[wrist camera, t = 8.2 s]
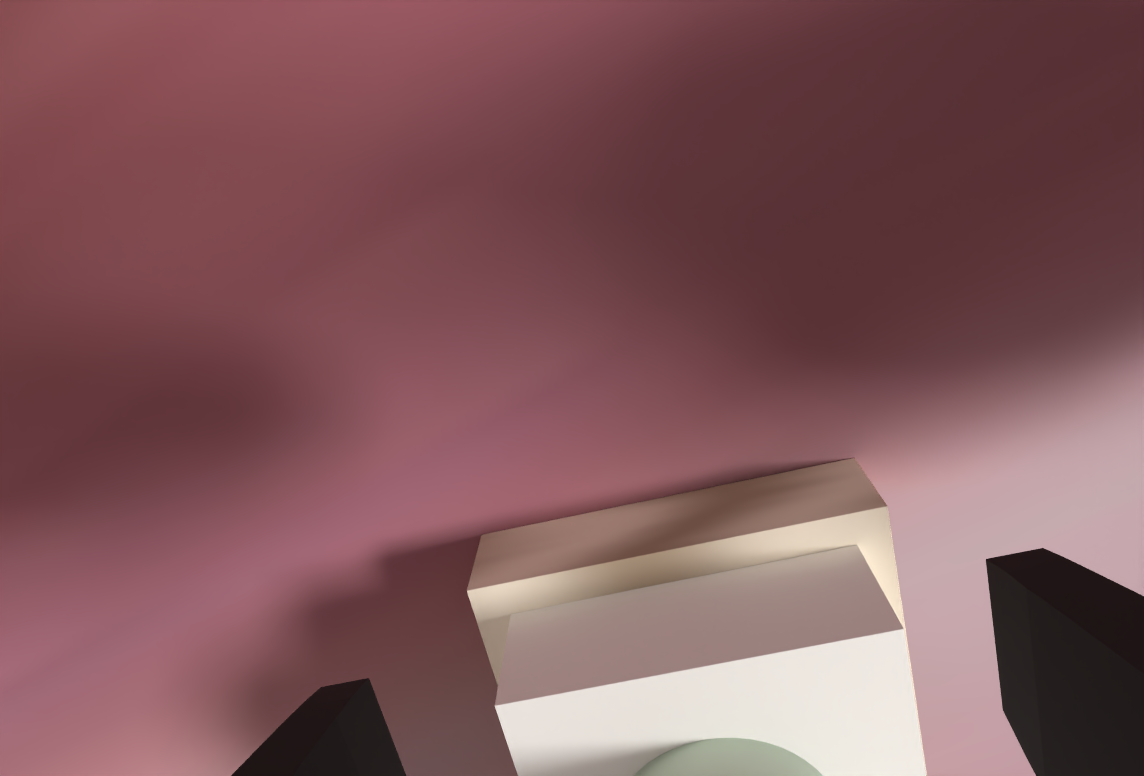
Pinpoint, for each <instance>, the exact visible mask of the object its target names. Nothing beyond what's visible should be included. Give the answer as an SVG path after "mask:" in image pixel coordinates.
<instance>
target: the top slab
mask: <svg viewBox="0 0 1144 776" xmlns="http://www.w3.org/2000/svg"><path fill="white" fill-rule="evenodd" d="M495 708H496V711H497V714H498V717H499V720H500V723H501V726H502V729H503V732H504V735H505V738H506V741H507V744H508V747H509V750H510V753H511V756H512V759H513V762H514V765H515V768H516V771H517V774H518V776H634V775H635V774H636V773H637V772H638V771H639V770H640V769H641V768H642V767H644V766H645V765H646V764H647V763H648V762H650V761H652V760H653V759H655V758H656V757H658V756H659V755H661V754H663V753H665V752H667V751H670V750H672V749H674V748H676V747H679V746H682V745H685V744H688V743H692V742H696V741H701V740H706V739H715V738H744V739H753V740H757V741H762V742H767V743H770V744H773V745H776V746H779V747H782V748H784V749H786V750H788V751H790V752H792V753H794V754H796V755H798V756H799V757H801V758H802V759H804V760H806V761H807V762H808V763H810V764H811V765H812V766H813V767H814V768H816V769H817V770H818V771H819V772H820V773H821V774H822V776H926V770H925V763H924V757H923V750H922V744H921V737H920V731H919V724H918V718H917V711H916V705H915V698H914V691H913V685H912V678H911V672H910V665H909V659H908V652H907V646H906V639H905V633H904V628H903V626H902V625H901V623H900V621H899V619H898V617H897V616H896V614H895V612H894V610H893V608H892V607H891V605H890V603H889V601H888V599H887V598H886V596H885V594H884V592H883V590H882V589H881V587H880V585H879V583H878V581H877V580H876V578H875V576H874V574H873V572H872V571H871V569H870V567H869V565H868V563H867V562H866V560H865V558H864V556H863V554H862V553H861V551H860V549H859V547H858V545H854V546H849V547H844V548H839V549H834V550H829V551H824V552H819V553H814V554H809V555H804V556H799V557H794V558H789V559H784V560H779V561H774V562H769V563H764V564H759V565H754V566H749V567H744V568H739V569H734V570H729V571H724V572H719V573H714V574H709V575H704V576H699V577H694V578H689V579H684V580H679V581H674V582H669V583H664V584H659V585H654V586H649V587H644V588H639V589H634V590H629V591H624V592H619V593H614V594H609V595H604V596H599V597H594V598H589V599H584V600H579V601H574V602H569V603H564V604H559V605H554V606H549V607H544V608H539V609H534V610H529V611H524V612H519V613H514V614H511V616H510V621H509V627H508V633H507V639H506V644H505V650H504V656H503V661H502V667H501V673H500V678H499V684H498V690H497V695H496V701H495Z"/></svg>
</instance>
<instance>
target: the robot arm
mask: <svg viewBox="0 0 1144 776" xmlns="http://www.w3.org/2000/svg"><path fill="white" fill-rule="evenodd" d="M986 565H987V574H988V583H989V591H990V600H991V609H992V618H993V627H994V635H995V644H996V653H997V662H998V671H999V680H1000V688H1001V697H1002V706H1003V711H1004V713H1005V715H1006V717H1007V719H1008V721H1009V723H1010V725H1011V727H1012V729H1013V731H1014V733H1015V735H1016V737H1017V739H1018V741H1019V743H1020V745H1021V747H1022V749H1023V751H1024V753H1025V755H1026V757H1027V759H1028V761H1029V763H1030V765H1031V767H1032V769H1033V771H1034V772H1035V774H1036V776H1144V596H1142V595H1140V594H1138V593H1136V592H1134V591H1132V590H1130V589H1128V588H1126V587H1124V586H1122V585H1120V584H1118V583H1116V582H1114V581H1112V580H1110V579H1107V578H1105V577H1103V576H1101V575H1099V574H1097V573H1095V572H1093V571H1091V570H1089V569H1087V568H1085V567H1083V566H1081V565H1079V564H1077V563H1075V562H1073V561H1071V560H1068V559H1066V558H1064V557H1062V556H1060V555H1058V554H1055V553H1053V552H1051V551H1049V550H1046V549H1044V548H1041V549H1036V550H1031V551H1025V552H1020V553H1015V554H1010V555H1005V556H999V557H994V558H989V559H986ZM231 776H406V774H405V772H404V769H403V766H402V764H401V761H400V758H399V756H398V753H397V751H396V748H395V745H394V743H393V740H392V738H391V735H390V732H389V730H388V727H387V724H386V722H385V719H384V717H383V714H382V711H381V709H380V706H379V704H378V701H377V698H376V696H375V693H374V690H373V688H372V685H371V683H370V680H369V678H367V679H362V680H356V681H351V682H346V683H341V684H336V685H330V686H325V687H321V688H320V689H319V690H317V691H316V692H315V693H314V694H313V695H312V696H311V697H309V698H308V699H307V700H306V701H305V702H304V703H303V704H302V705H301V706H300V707H299V708H298V709H297V710H296V711H295V712H294V713H293V714H292V715H290V716H289V717H288V718H287V719H286V720H285V721H284V722H283V723H282V724H281V725H280V726H279V727H278V728H277V729H276V730H275V732H274V733H273V734H272V735H271V736H270V737H269V738H268V739H267V740H266V741H265V742H264V743H263V744H262V745H261V746H260V747H259V748H258V749H257V750H256V751H255V752H254V753H253V754H252V755H251V756H250V757H249V758H248V759H247V760H246V761H245V762H244V763H243V764H242V765H241V766H240V767H239V768H238V769H237V770H236V771H235V772H234V773H233V774H232V775H231Z"/></svg>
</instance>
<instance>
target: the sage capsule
mask: <svg viewBox="0 0 1144 776" xmlns="http://www.w3.org/2000/svg"><path fill="white" fill-rule="evenodd" d="M634 776H822V774H821V773H820V772H819V771H818V770H817V769H816V768H814V767H813V766H812V765H811V764H810V763H808V762H807V761H806V760H804V759H802V758H801V757H799V756H798V755H796V754H794V753H792V752H790V751H788V750H786V749H784V748H782V747H779V746H776V745H773V744H770V743H767V742H762V741H757V740H753V739H744V738H715V739H706V740H701V741H696V742H692V743H688V744H685V745H682V746H679V747H676V748H674V749H672V750H670V751H667V752H665V753H663V754H661V755H659V756H658V757H656V758H655V759H653V760H652V761H650V762H648V763H647V764H646V765H645V766H644V767H642V768H641V769H640V770H639V771H638V772H637V773H636V774H635V775H634Z"/></svg>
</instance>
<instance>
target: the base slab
mask: <svg viewBox="0 0 1144 776" xmlns="http://www.w3.org/2000/svg"><path fill="white" fill-rule="evenodd" d="M854 545H858V547H859V549H860V551H861V553H862V554H863V556H864V558H865V560H866V562H867V563H868V565H869V567H870V569H871V571H872V572H873V574H874V576H875V578H876V580H877V581H878V583H879V585H880V587H881V589H882V590H883V592H884V594H885V596H886V598H887V599H888V601H889V603H890V605H891V607H892V608H893V610H894V612H895V614H896V616H897V617H898V619H899V621H900V623H901V625H902V626H903V628H904V633H905V639H906V646H907V652H908V659H909V665H910V672H911V678H912V685H913V691H914V684H913V677H912V670H911V664H910V657H909V650H908V643H907V636H906V629H905V623H904V616H903V609H902V602H901V595H900V589H899V582H898V575H897V568H896V561H895V555H894V548H893V541H892V534H891V527H890V520H889V514H888V507H887V505H886V503H885V502H884V500H883V499H882V498H881V496H880V495H879V493H878V492H877V490H876V489H875V487H874V486H873V484H872V483H871V481H870V480H869V479H868V477H867V476H866V474H865V473H864V471H863V470H862V468H861V467H860V465H859V464H858V463H857V461H856V460H855V458H852V459H847V460H842V461H837V462H832V463H827V464H822V465H818V466H813V467H808V468H803V469H798V470H793V471H789V472H784V473H779V474H774V475H769V476H764V477H759V478H755V479H750V480H745V481H740V482H735V483H730V484H726V485H721V486H716V487H711V488H706V489H701V490H696V491H692V492H687V493H682V494H677V495H672V496H667V497H663V498H658V499H653V500H648V501H643V502H638V503H633V504H629V505H624V506H619V507H614V508H609V509H604V510H600V511H595V512H590V513H585V514H580V515H575V516H570V517H566V518H561V519H556V520H551V521H546V522H541V523H537V524H532V525H527V526H522V527H517V528H512V529H507V530H503V531H498V532H493V533H488V534H483V535H481V539H480V543H479V546H478V550H477V554H476V558H475V561H474V565H473V569H472V573H471V577H470V580H469V584H468V588H467V593H468V596H469V599H470V602H471V606H472V609H473V612H474V615H475V618H476V621H477V624H478V627H479V630H480V633H481V636H482V639H483V642H484V645H485V649H486V652H487V655H488V658H489V661H490V664H491V667H492V670H493V673H494V676H495V679H496V682H497V685H498V684H499V678H500V673H501V667H502V661H503V656H504V650H505V644H506V639H507V633H508V627H509V621H510V616H511V614H514V613H519V612H524V611H529V610H534V609H539V608H544V607H549V606H554V605H559V604H564V603H569V602H574V601H579V600H584V599H589V598H594V597H599V596H604V595H609V594H614V593H619V592H624V591H629V590H634V589H639V588H644V587H649V586H654V585H659V584H664V583H669V582H674V581H679V580H684V579H689V578H694V577H699V576H704V575H709V574H714V573H719V572H724V571H729V570H734V569H739V568H744V567H749V566H754V565H759V564H764V563H769V562H774V561H779V560H784V559H789V558H794V557H799V556H804V555H809V554H814V553H819V552H824V551H829V550H834V549H839V548H844V547H849V546H854ZM914 698H915V691H914ZM915 705H916V711H917V704H916V698H915ZM917 718H918V711H917ZM918 724H919V718H918ZM919 731H920V725H919ZM920 737H921V732H920ZM921 744H922V738H921ZM922 750H923V745H922ZM923 757H924V752H923ZM924 763H925V759H924ZM925 770H926V766H925ZM926 776H927V773H926Z"/></svg>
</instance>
